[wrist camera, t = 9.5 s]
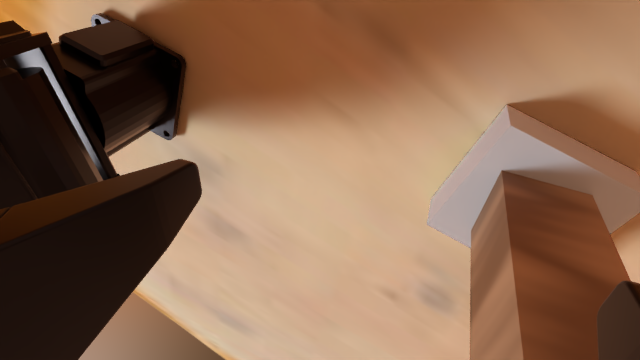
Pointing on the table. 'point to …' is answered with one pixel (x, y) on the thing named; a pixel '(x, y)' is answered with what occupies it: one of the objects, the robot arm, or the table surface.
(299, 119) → the table surface
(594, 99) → the table surface
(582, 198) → the walnut block
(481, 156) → the base
